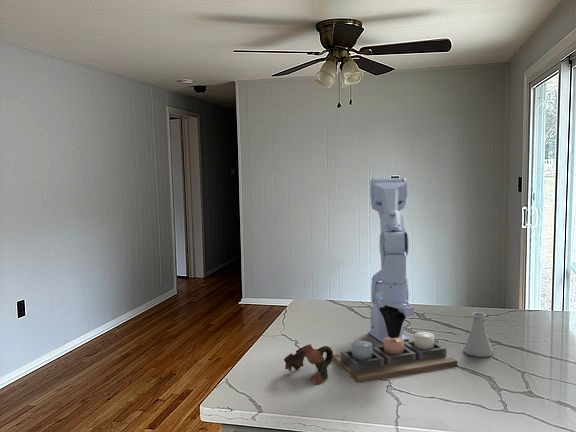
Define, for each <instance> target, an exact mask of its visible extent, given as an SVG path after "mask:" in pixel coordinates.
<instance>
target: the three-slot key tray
mask: <svg viewBox="0 0 576 432" xmlns="http://www.w3.org/2000/svg"><path fill="white" fill-rule="evenodd" d="M332 361H333V363H335V364H336V365H338V367H339V368H340V369H342V370H343V371H344V372H345V373H346V374H347V373H348V375H349V376H350V377H351V378H352V379H353V380H354V381H355V382H357V383H358V384H361V383H368V382H372V381H377V380H384V379H389V378H394V377H400V376H406V375H411V374H419V373H422V372H428V371H433V370H434V371H435V370H439V369H445V368H450V367H451V368H452V367H456V366H458V360H457V359H455V358H453V357H451V356H450V355H449V354H447V347H445V346H443V345H441V344H439V343H438V342H436V341H434V349H429V350H423V351H420V350H418V349H417V348H415V347H414V340H411V341H409V340H408V341H404V354H399V355H392V356H389V355H387V354H386V353H384V344H383V345H377V346H372V359H368V360H362V361H356V360H354V359H353V358H352V349H351V350H345V351H340V354H336V355H334V354H333V359H332Z"/></svg>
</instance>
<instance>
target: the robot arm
mask: <svg viewBox="0 0 576 432" xmlns="http://www.w3.org/2000/svg"><path fill="white" fill-rule="evenodd" d="M369 186H370V187H369V188H370V190H369V191H370V206H371V209H372V210H373V211H376V212H377V213H378V217H379V221H380V222H379V225H380V227H379V228H380V234H379V254H380V262H381V263H380V267H381V268H380V270H379V271H377V272H376V273H375V274H372V275H373V276H372V277H371V285H370V289H371V291H370V293H371V294H370V295H371V297H370V298H371V303H372V307H371V308H370V330H368V331H367V333H368V335H371V337H373V338H375V339H377V340H378V341H379V342H381V343H382V344H384V338H385V337H390V338H399V337H400V338H403V339H404V341H407V340H408V341H409V340H410V337H409V336H408V335H405V334H404V321H405V320H406V318H407V317H411V316H415V307H414V306H412V305H411V303H410V302H409V285H408V278H407V256H408V255H409V246H410V245H409V236H408V235H409V234H408V230H407V229H405V222H404V215H403V214H402V213H401V212H400V211H402V210H404V209H405V205H407V204H406V202H407V198H408V180H407V179H406V178H405V177H387V178H386V177H385V178H383V177H382V178H381V177H380V178H377V177H376V178H375V177H372V178H371V179H370V182H369Z"/></svg>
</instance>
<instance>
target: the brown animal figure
mask: <svg viewBox="0 0 576 432" xmlns="http://www.w3.org/2000/svg"><path fill="white" fill-rule="evenodd" d="M324 353H326V357H325V358H324ZM333 356H334V351H333V349H332V348H331V347H330V346H328V345H324V346H321V347H319V348H317V349H316V348H313V345H312V344H310V343H309V344H306V345H304V346H302V347H300V348H298V349H296V350H295V353H294V354H293V353H290V354H288V355H287V356H286V357H284V358H283V361H284V363H285V366H284V369H285V370H288V371H289V372H292V368H293V369H294V370H295V371H298V370H300V368H301V367H304V366H305V365H304V360H305V358H306V359H307V361H308V362H309V363H310V364H312V365H314V366H315V367H316V369H317V372H315V373H314V374H313V375H312V376H311V378H312V380H313V381H314V386H317V385H319V384H321V383H323V382H324V381H326V380H327V379H328V378H329V373H328V366H329V365H330V364H331V363H332V361H333Z"/></svg>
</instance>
